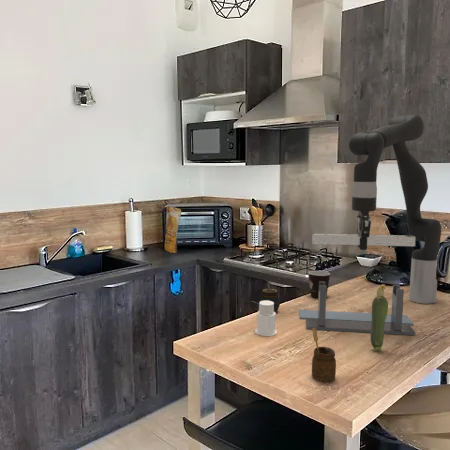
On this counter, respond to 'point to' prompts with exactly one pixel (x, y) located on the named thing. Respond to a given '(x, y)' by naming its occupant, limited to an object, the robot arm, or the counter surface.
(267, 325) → the downlight
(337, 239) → the steel rail
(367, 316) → the blue-gray flat board
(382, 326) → the vegetable
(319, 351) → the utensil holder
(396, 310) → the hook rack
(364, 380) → the counter surface
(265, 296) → the mate gourd
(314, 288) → the coffee mug
